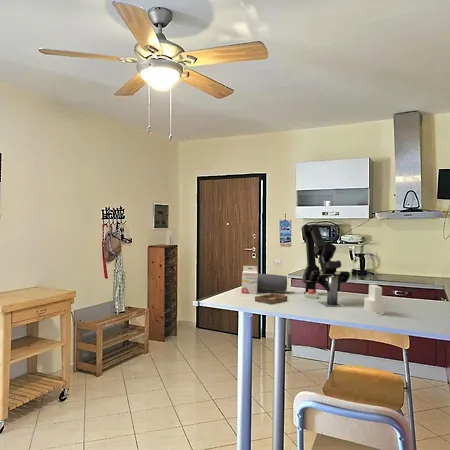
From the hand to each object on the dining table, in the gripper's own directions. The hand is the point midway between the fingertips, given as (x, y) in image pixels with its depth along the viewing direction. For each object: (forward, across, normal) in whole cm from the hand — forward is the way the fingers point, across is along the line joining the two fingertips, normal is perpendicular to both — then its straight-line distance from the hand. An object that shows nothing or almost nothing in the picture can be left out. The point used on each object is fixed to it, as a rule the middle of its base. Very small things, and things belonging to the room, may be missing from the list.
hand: (333, 291), depth 191 cm
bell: (+4, 0, +6) cm, 7 cm away
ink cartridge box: (-20, -34, +31) cm, 50 cm away
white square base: (-8, -5, +18) cm, 21 cm away
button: (-10, -5, +16) cm, 20 cm away
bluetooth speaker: (-23, -24, +34) cm, 48 cm away
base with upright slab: (+13, +16, -1) cm, 20 cm away
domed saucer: (-13, -20, +24) cm, 34 cm away
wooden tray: (-4, -27, +15) cm, 31 cm away
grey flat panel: (+4, 0, +6) cm, 8 cm away
